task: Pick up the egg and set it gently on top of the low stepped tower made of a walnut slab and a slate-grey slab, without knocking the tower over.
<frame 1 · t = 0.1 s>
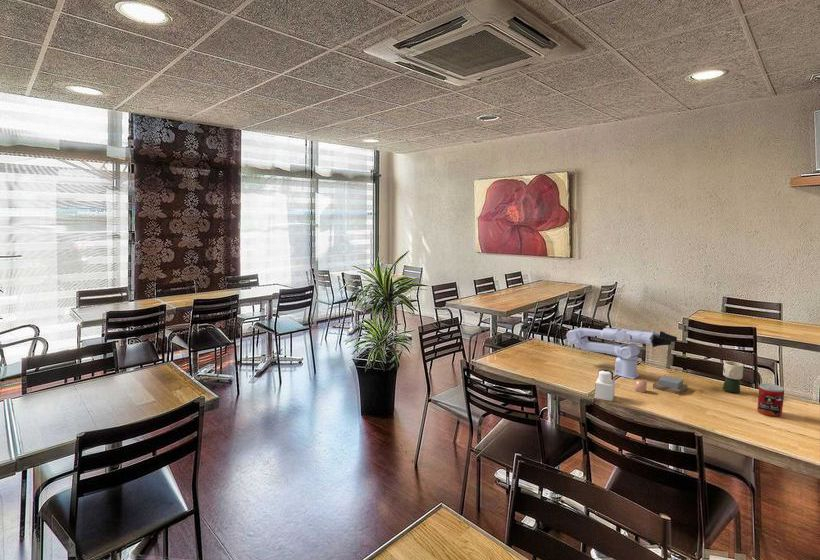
hand: (673, 340, 203), 22 cm above the table, tool horizontal, fingers open, 7 cm apart
canned food: (769, 413, 175), on the table
character mug: (731, 391, 198), on the table
medicine bottle: (604, 397, 192), on the table
egg: (640, 391, 199), on the table
top slab: (670, 384, 202), point 2 cm above the table, touching base slab
base slab: (669, 389, 202), on the table, touching top slab
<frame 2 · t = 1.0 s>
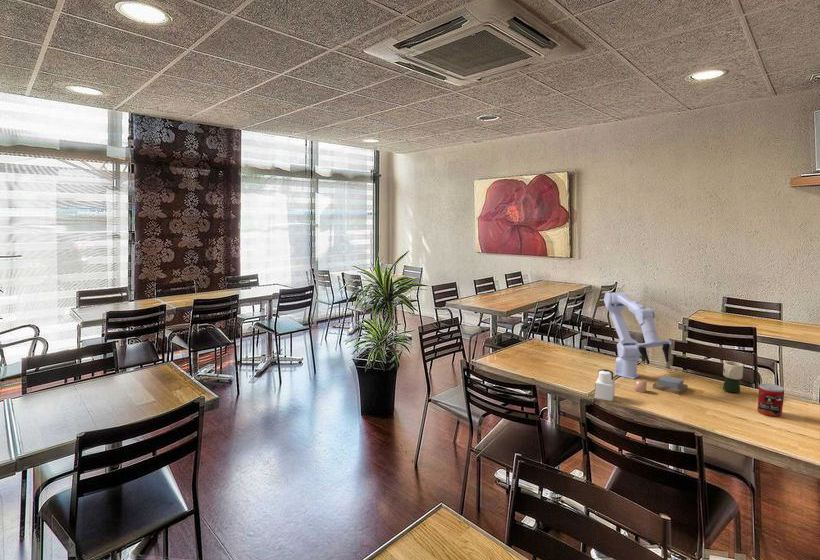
hand: (658, 362, 196), 14 cm above the table, tool tilted 30°, fingers open, 7 cm apart
nothing on the table moved.
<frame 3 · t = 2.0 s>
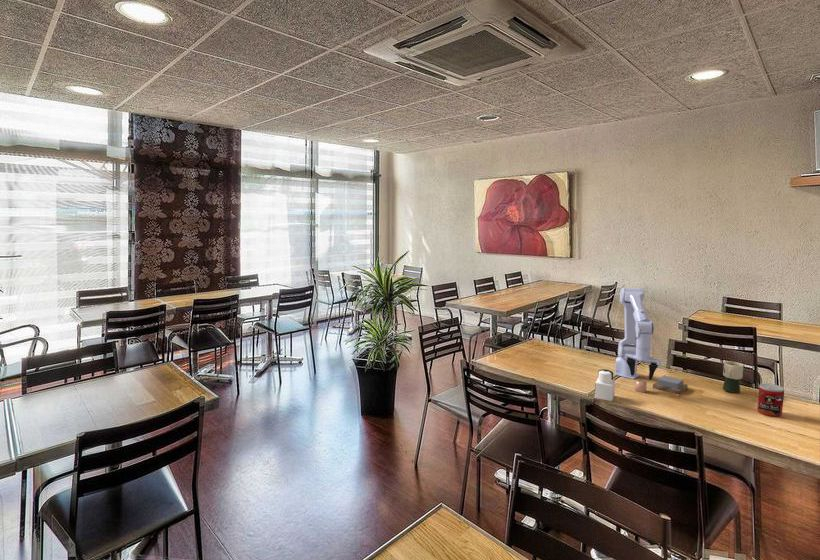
hand: (641, 377, 198), 7 cm above the table, tool pointing down, fingers open, 7 cm apart
top slab: (670, 384, 202), point 2 cm above the table
base slab: (669, 389, 202), on the table
everything else where it was.
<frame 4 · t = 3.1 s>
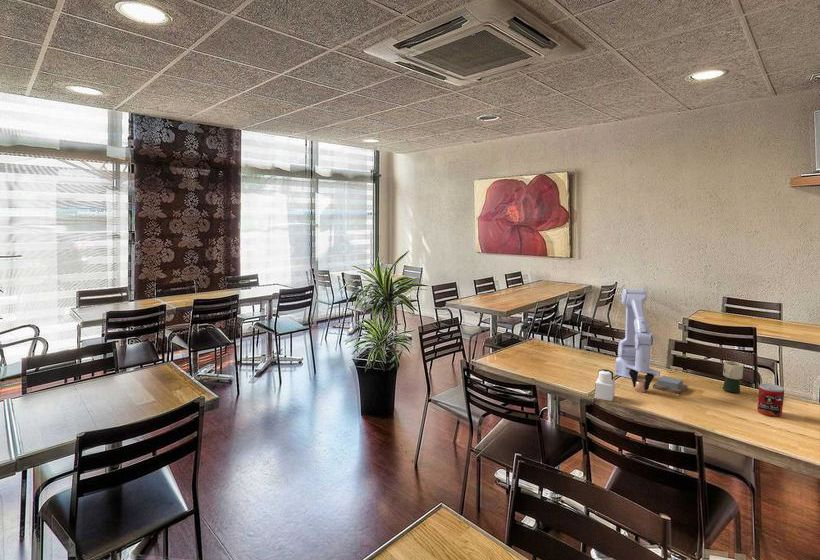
hand: (640, 387, 199), 1 cm above the table, tool pointing down, fingers closed on egg, 4 cm apart
egg: (640, 390, 199), on the table, touching gripper
top slab: (669, 384, 202), point 2 cm above the table, touching base slab
base slab: (669, 390, 202), on the table, touching top slab
everything else where it was.
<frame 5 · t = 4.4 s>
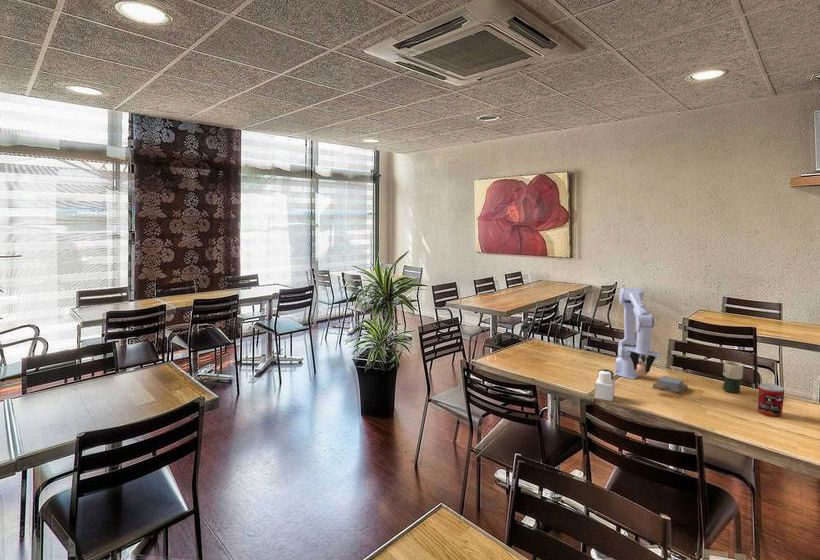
hand: (641, 370, 198), 10 cm above the table, tool pointing down, fingers closed on egg, 4 cm apart
egg: (641, 373, 198), point 8 cm above the table, touching gripper
everything else where it was.
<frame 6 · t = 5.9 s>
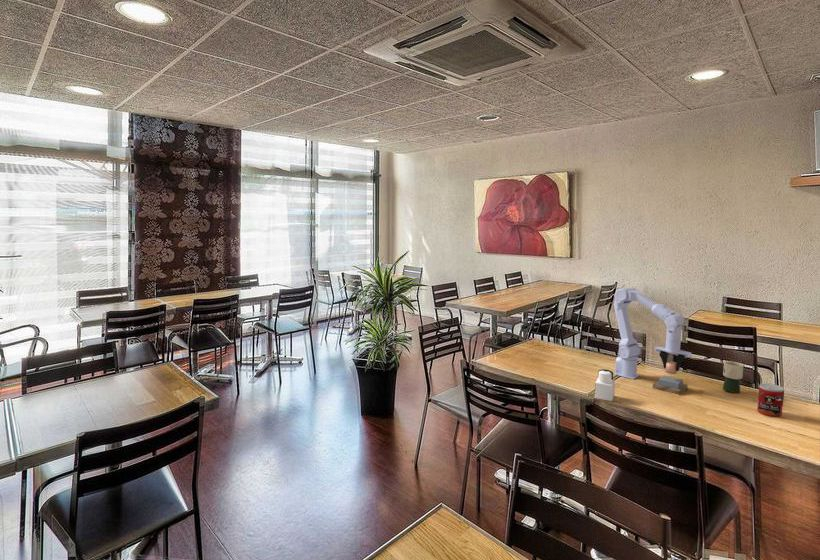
hand: (671, 369, 201), 9 cm above the table, tool pointing down, fingers closed on egg, 4 cm apart
egg: (671, 372, 201), point 8 cm above the table, touching gripper
everything else where it was.
when the fingers open (7 cm above the table, at t = 6.6 s): egg drops 2 cm, resting on top slab.
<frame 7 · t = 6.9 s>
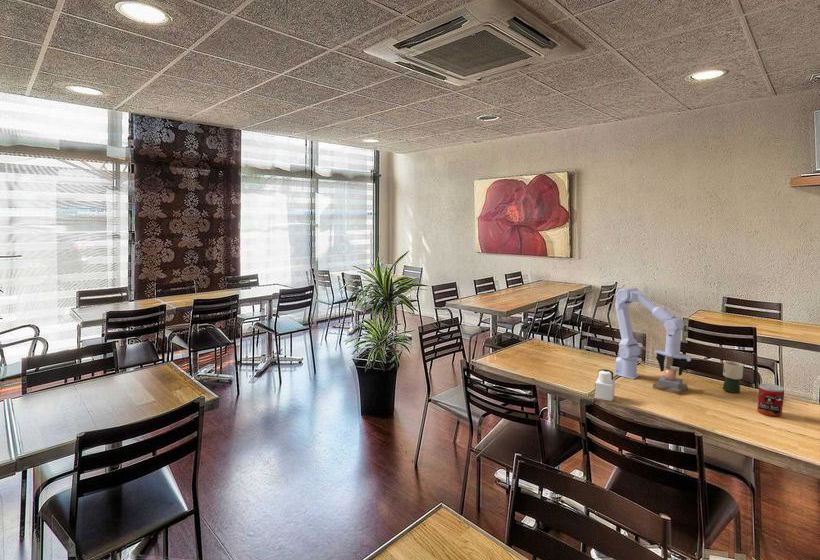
hand: (671, 372, 201), 7 cm above the table, tool pointing down, fingers open, 7 cm apart
egg: (669, 379, 202), point 4 cm above the table, touching top slab
top slab: (670, 384, 202), point 2 cm above the table, touching base slab, egg
everything else where it was.
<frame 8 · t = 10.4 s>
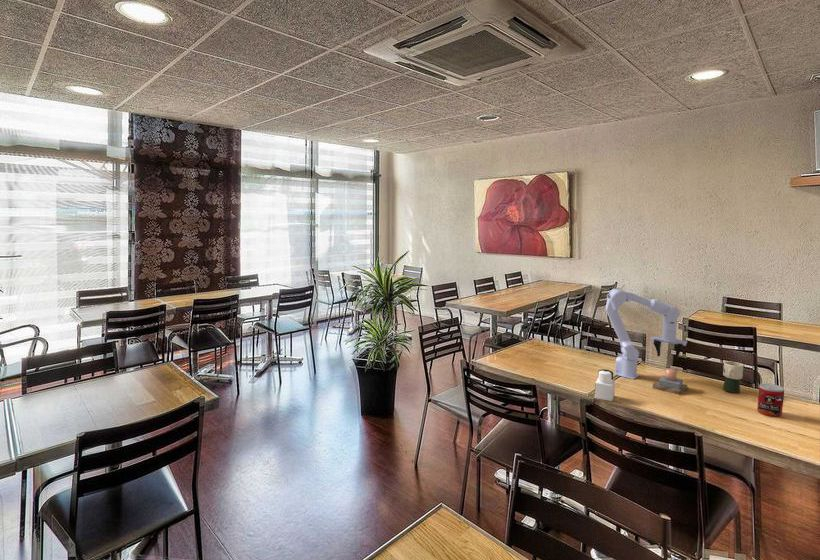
hand: (667, 357, 214), 10 cm above the table, tool pointing down, fingers open, 7 cm apart
nothing on the table moved.
at the end: egg 0.3 cm off-centre on the top slab, point 2.6 cm above the top slab's base; top slab 0.3 cm off-centre on the base slab, point 2.5 cm above the base slab's base; the gripper is holding nothing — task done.
